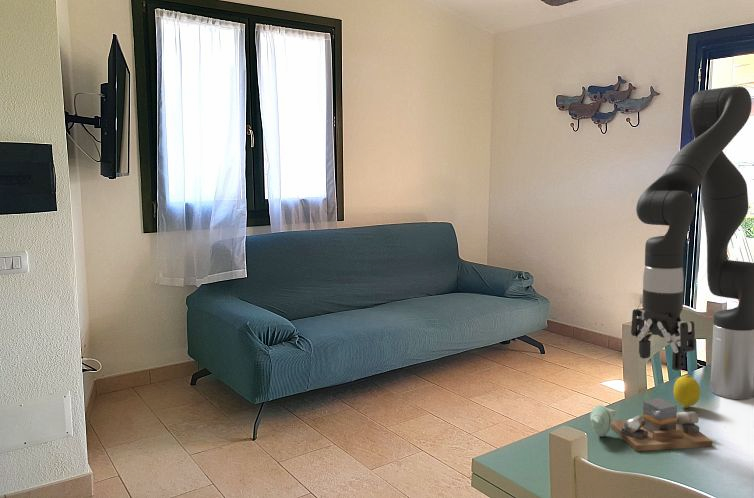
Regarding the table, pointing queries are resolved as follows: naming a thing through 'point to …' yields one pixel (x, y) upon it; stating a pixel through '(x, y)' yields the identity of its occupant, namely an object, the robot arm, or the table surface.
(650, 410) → the grey striped block
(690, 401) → the lemon
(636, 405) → the table surface
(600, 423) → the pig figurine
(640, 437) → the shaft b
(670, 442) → the wooden assembly base
